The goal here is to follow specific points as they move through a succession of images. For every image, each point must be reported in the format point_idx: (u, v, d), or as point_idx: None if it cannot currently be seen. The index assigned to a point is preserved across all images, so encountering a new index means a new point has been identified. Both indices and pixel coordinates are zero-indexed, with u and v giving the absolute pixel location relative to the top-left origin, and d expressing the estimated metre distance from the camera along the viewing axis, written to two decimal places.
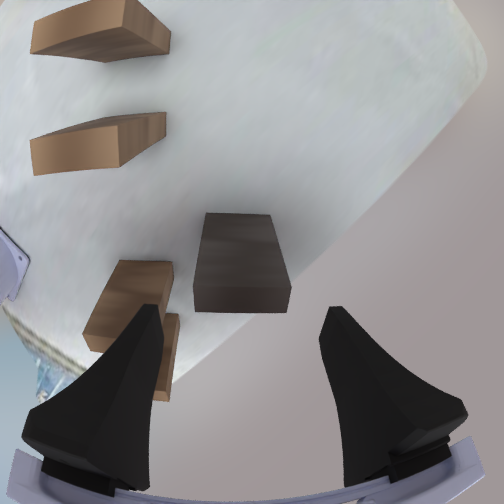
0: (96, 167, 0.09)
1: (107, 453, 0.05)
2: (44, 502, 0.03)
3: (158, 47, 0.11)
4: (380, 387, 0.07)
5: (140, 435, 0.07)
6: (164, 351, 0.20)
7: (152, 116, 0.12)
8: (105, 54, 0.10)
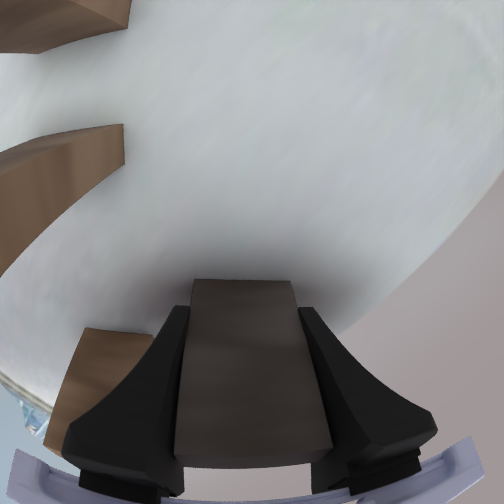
0: None
1: (158, 463, 0.05)
2: (44, 502, 0.03)
3: (98, 13, 0.05)
4: (340, 394, 0.07)
5: None
6: None
7: (83, 139, 0.06)
8: (19, 39, 0.04)
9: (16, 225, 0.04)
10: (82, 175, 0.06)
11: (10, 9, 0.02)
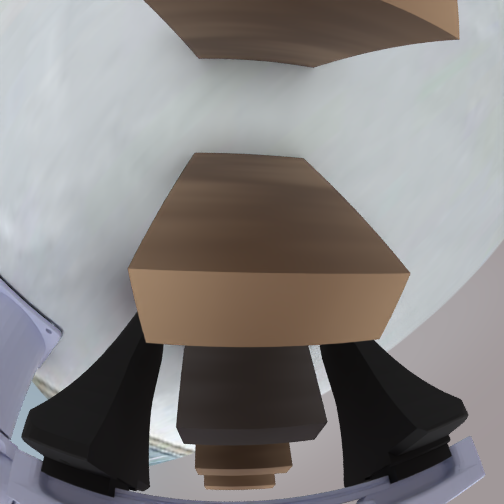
0: (335, 341, 0.05)
1: (107, 453, 0.05)
2: (44, 502, 0.03)
3: (334, 60, 0.07)
4: (380, 387, 0.07)
5: (140, 435, 0.07)
6: None
7: None
8: (236, 45, 0.06)
9: None
10: None
11: (332, 36, 0.04)
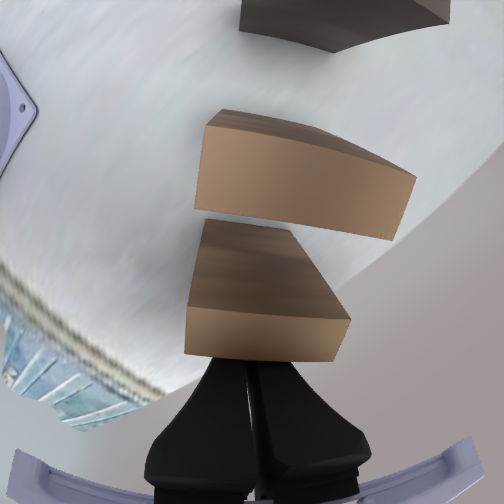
0: None
1: None
2: (44, 502, 0.03)
3: None
4: (263, 401, 0.07)
5: None
6: (300, 263, 0.11)
7: None
8: None
9: None
10: None
11: None
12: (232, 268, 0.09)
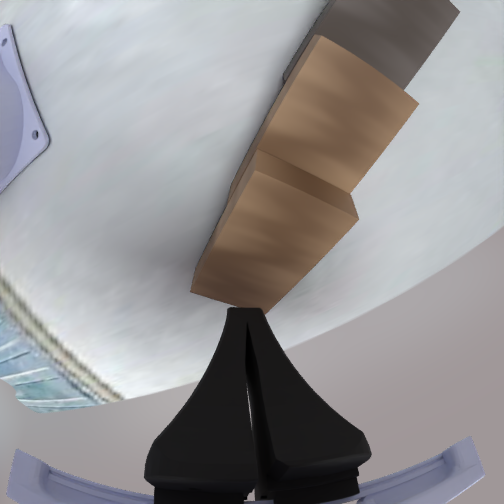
0: None
1: None
2: (44, 502, 0.03)
3: None
4: (263, 401, 0.07)
5: None
6: None
7: None
8: None
9: None
10: None
11: None
12: None
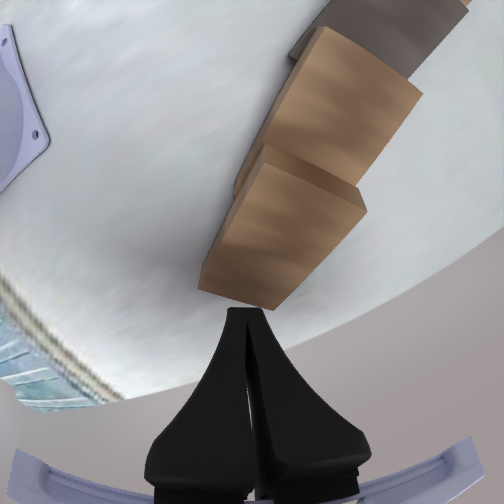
0: None
1: None
2: (44, 502, 0.03)
3: None
4: (263, 401, 0.07)
5: None
6: None
7: None
8: None
9: None
10: None
11: None
12: None
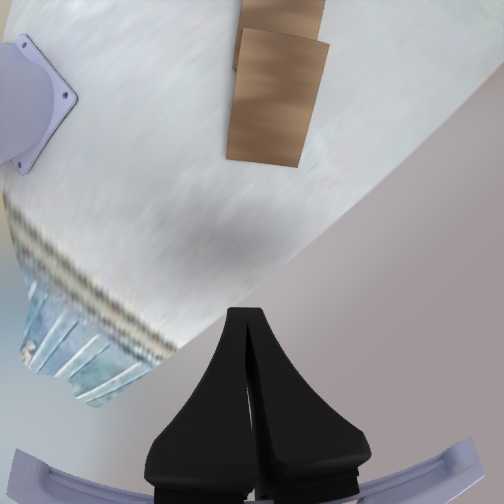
0: None
1: None
2: (44, 502, 0.03)
3: None
4: (263, 401, 0.07)
5: None
6: None
7: None
8: None
9: None
10: None
11: None
12: None
